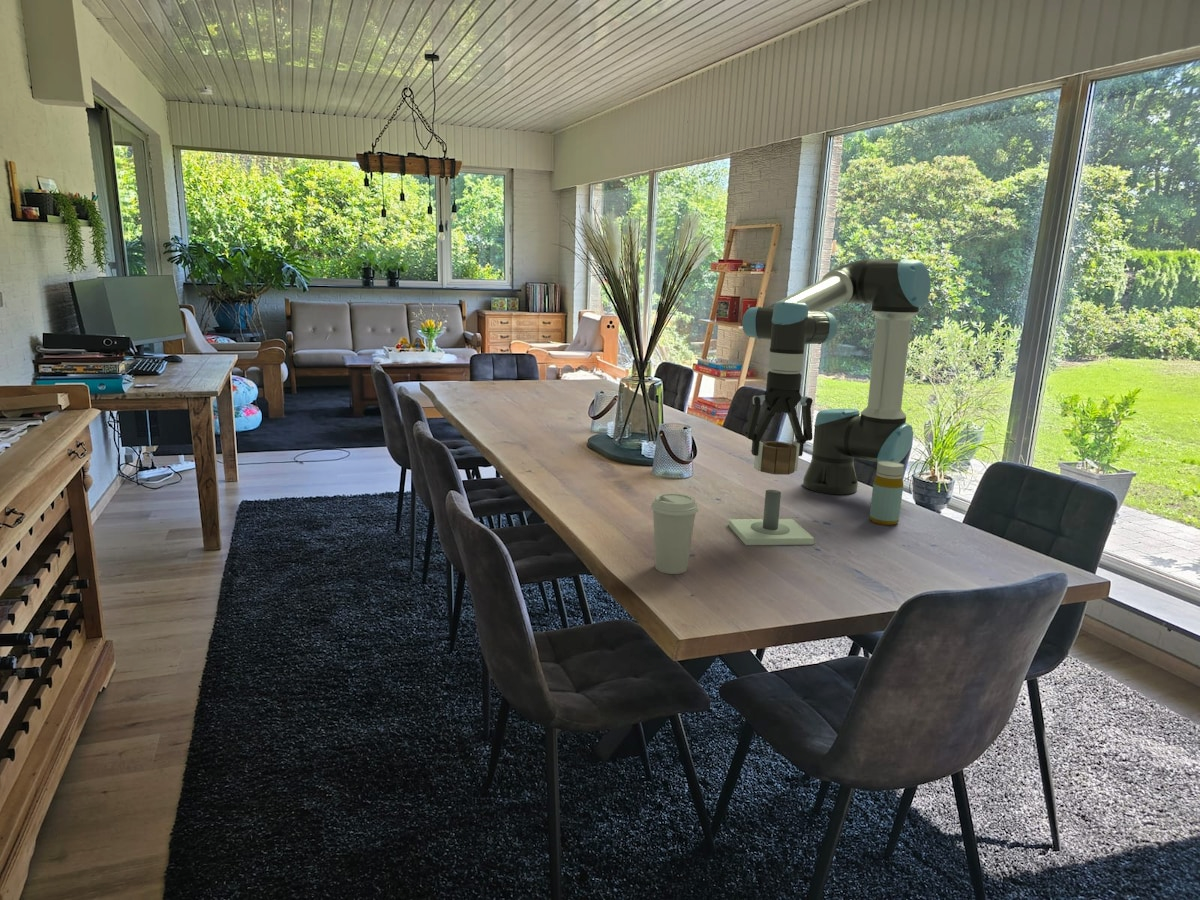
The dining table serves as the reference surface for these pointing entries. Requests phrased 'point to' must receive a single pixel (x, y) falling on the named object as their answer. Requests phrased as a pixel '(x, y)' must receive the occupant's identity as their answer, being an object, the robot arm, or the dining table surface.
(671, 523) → the coffee cup
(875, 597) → the dining table surface
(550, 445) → the dining table surface
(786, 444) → the collar
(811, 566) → the dining table surface
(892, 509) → the bottle
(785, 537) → the post stand
